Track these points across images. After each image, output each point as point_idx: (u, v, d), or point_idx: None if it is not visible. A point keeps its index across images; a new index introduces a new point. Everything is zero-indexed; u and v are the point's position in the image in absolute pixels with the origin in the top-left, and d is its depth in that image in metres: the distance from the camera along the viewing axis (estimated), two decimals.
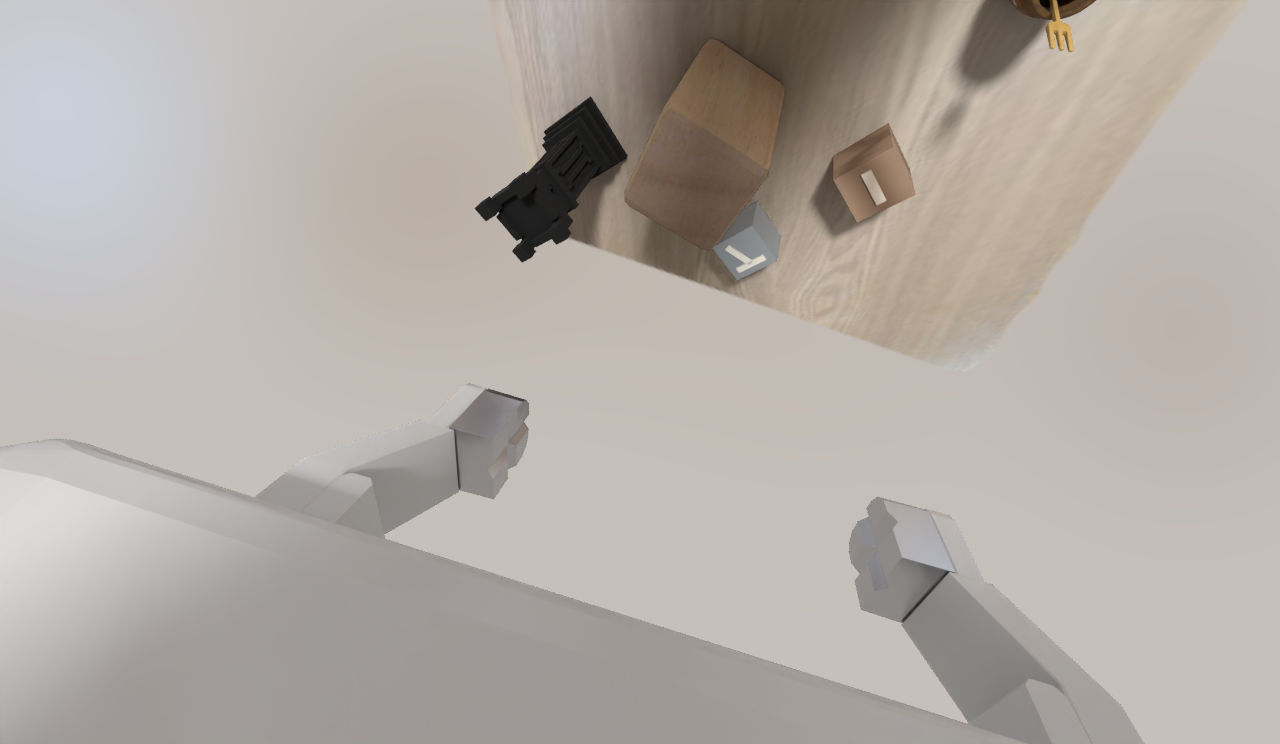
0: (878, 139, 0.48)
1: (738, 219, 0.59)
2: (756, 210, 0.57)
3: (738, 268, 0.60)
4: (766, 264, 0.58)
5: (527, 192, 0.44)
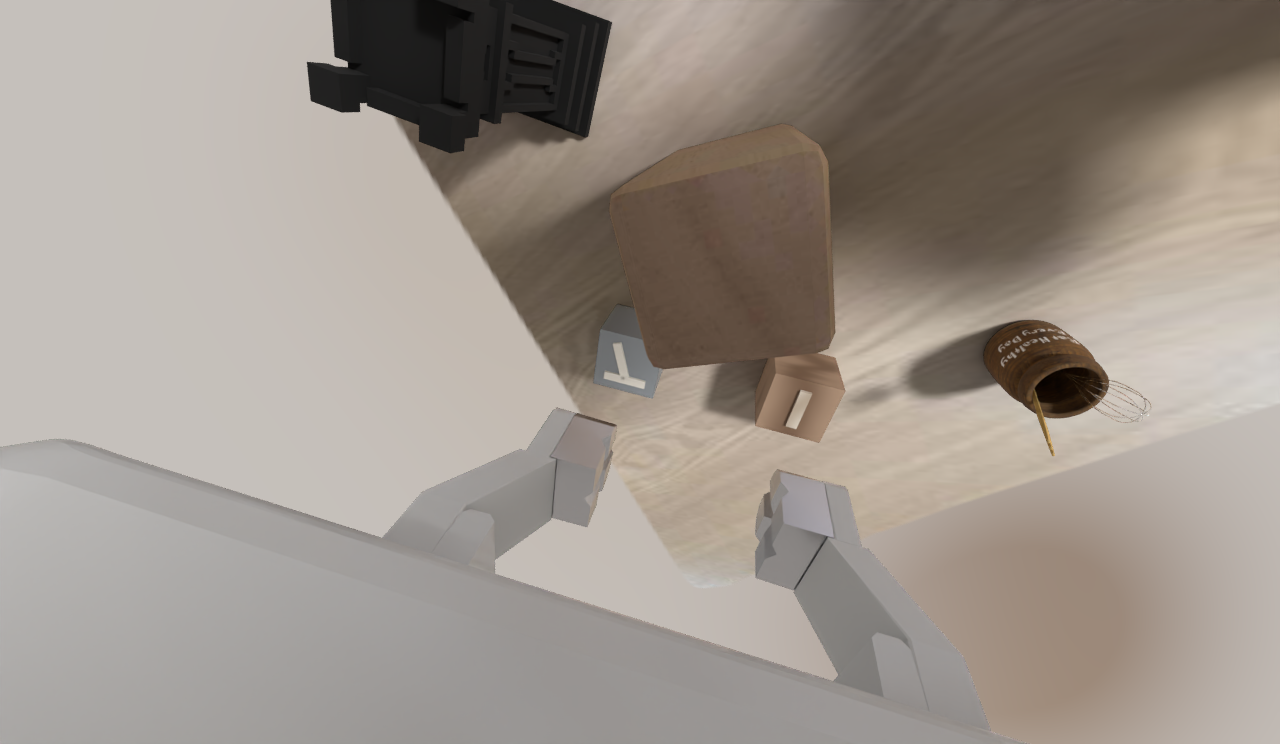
0: (826, 367, 0.42)
1: None
2: None
3: (607, 373, 0.43)
4: (638, 392, 0.43)
5: (450, 0, 0.18)
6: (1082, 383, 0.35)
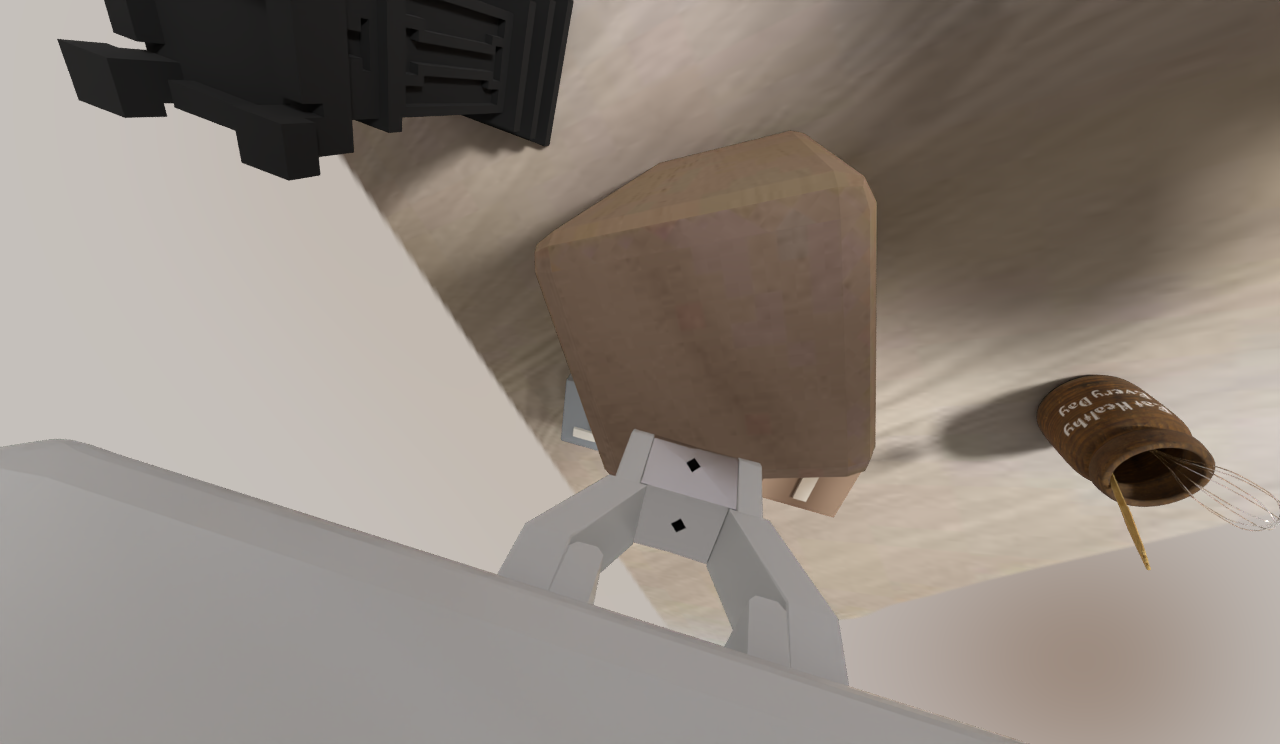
0: None
1: None
2: None
3: (577, 430, 0.35)
4: None
5: None
6: (1171, 460, 0.28)
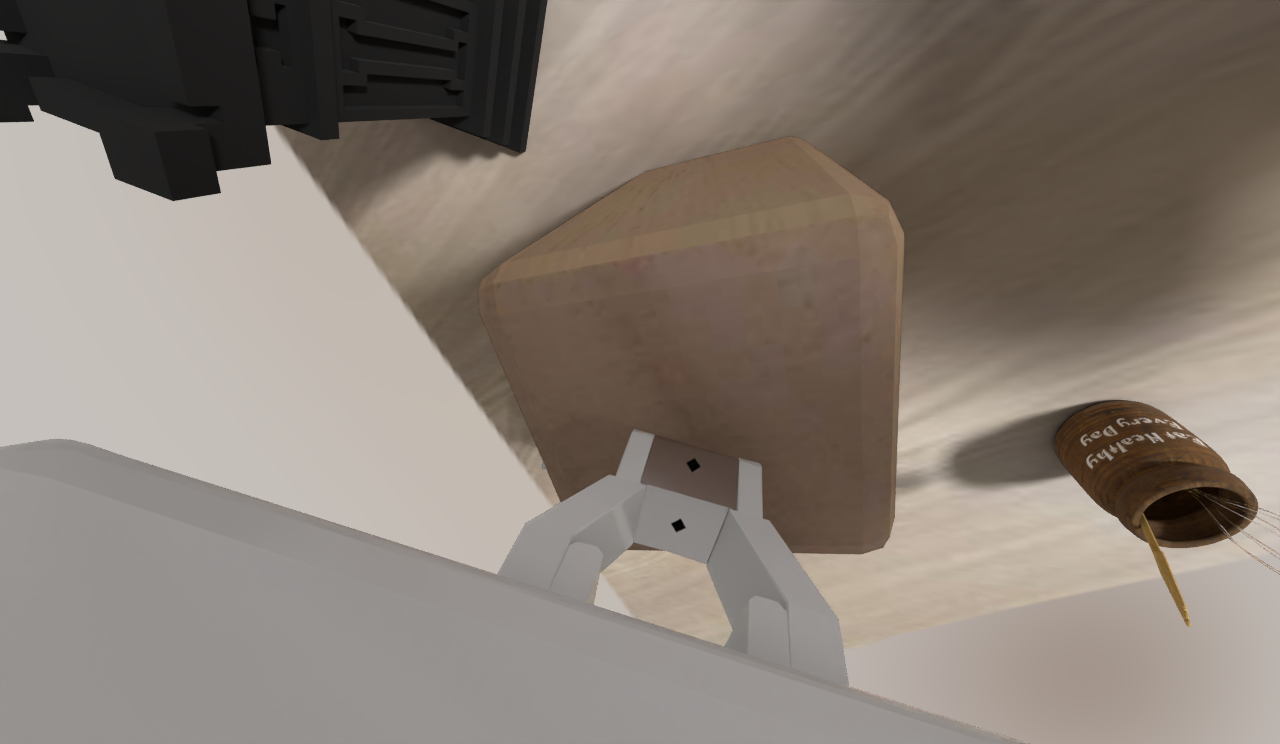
0: None
1: None
2: None
3: None
4: None
5: None
6: (1204, 496, 0.26)
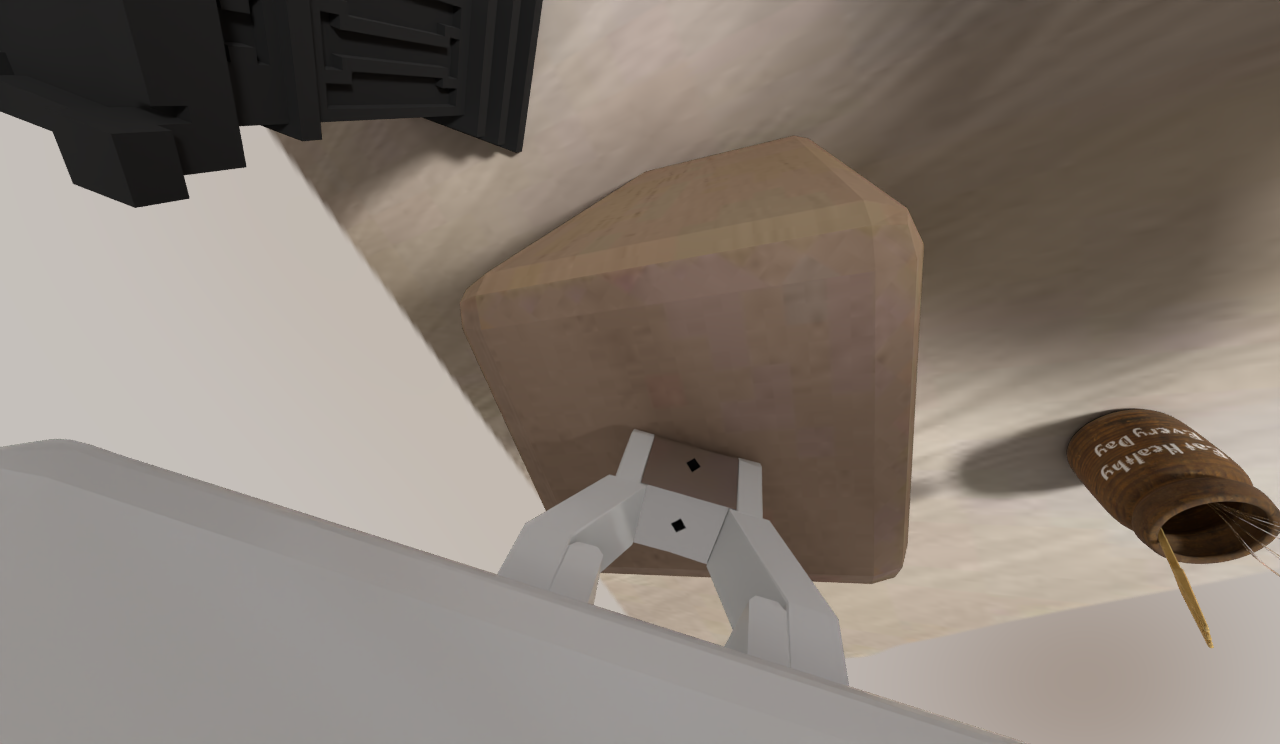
0: None
1: None
2: None
3: None
4: None
5: None
6: (1225, 509, 0.25)
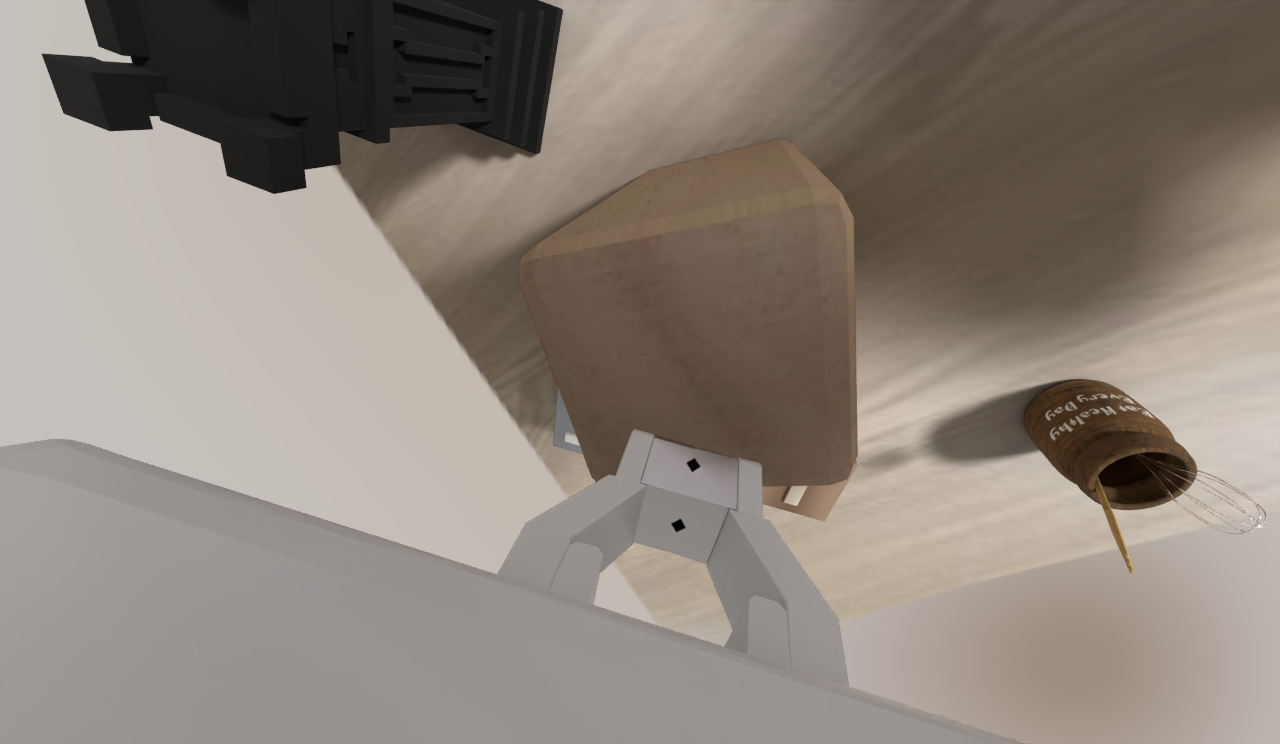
0: None
1: None
2: None
3: (569, 436, 0.35)
4: None
5: None
6: (1154, 464, 0.28)
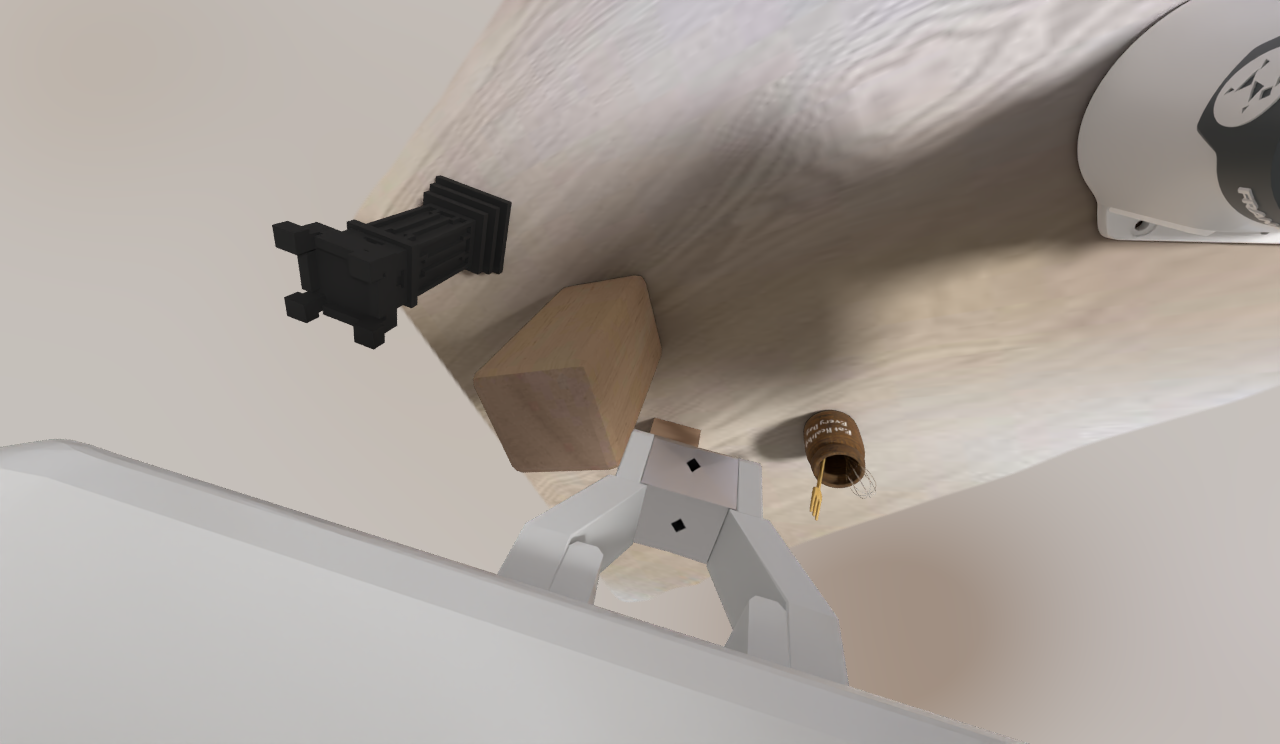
0: (689, 440, 0.54)
1: None
2: None
3: None
4: None
5: (366, 280, 0.31)
6: None
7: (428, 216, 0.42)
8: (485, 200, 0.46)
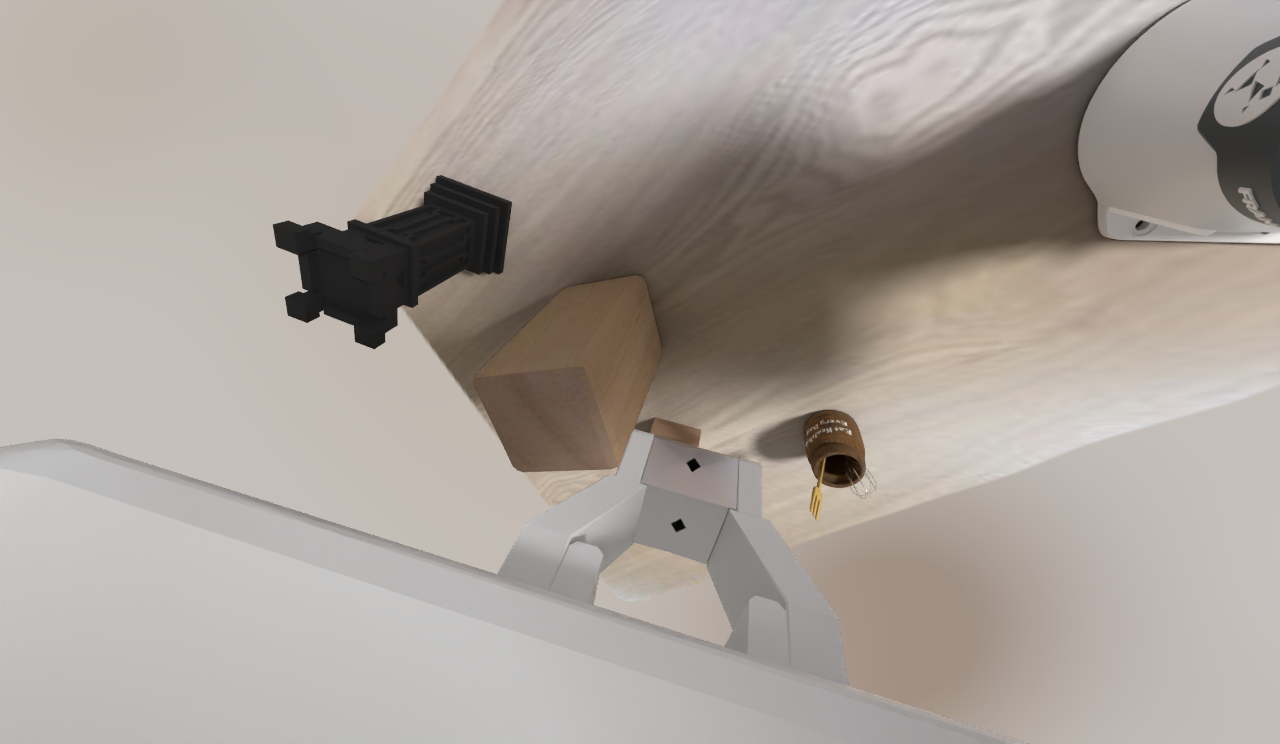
0: (689, 439, 0.54)
1: None
2: None
3: None
4: None
5: (366, 279, 0.31)
6: None
7: (429, 216, 0.42)
8: (485, 200, 0.46)
